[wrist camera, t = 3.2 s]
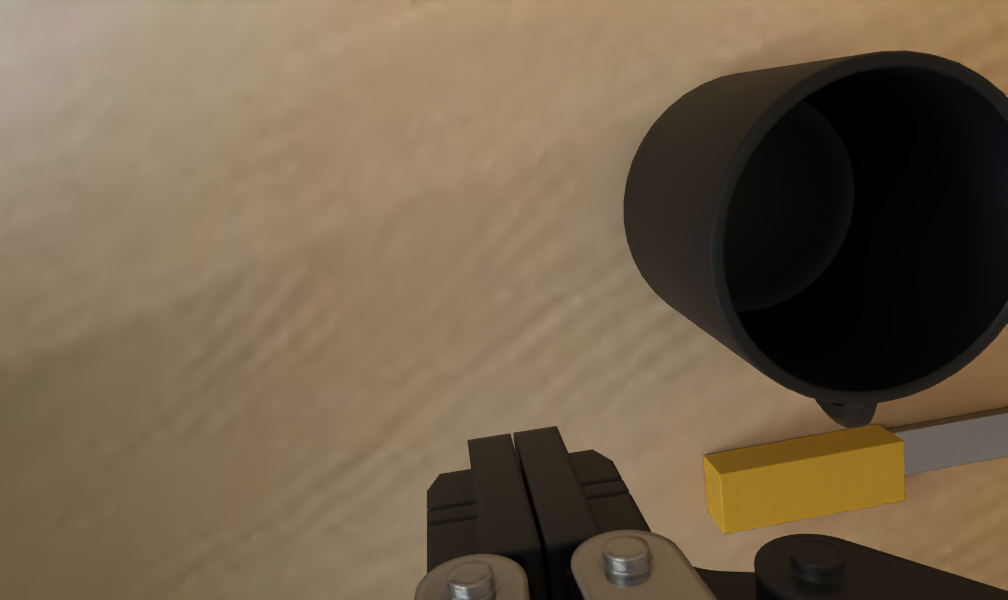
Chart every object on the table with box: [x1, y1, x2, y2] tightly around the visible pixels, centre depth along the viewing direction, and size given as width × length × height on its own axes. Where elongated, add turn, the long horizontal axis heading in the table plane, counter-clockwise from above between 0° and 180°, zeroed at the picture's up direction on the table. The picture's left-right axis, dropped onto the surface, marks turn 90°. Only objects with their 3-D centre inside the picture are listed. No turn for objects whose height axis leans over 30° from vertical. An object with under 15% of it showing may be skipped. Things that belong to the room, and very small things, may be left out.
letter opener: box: [703, 407, 1008, 534], centre depth 31 cm, size 20×3×2 cm, turn 98°
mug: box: [624, 51, 1008, 428], centre depth 25 cm, size 9×12×9 cm
